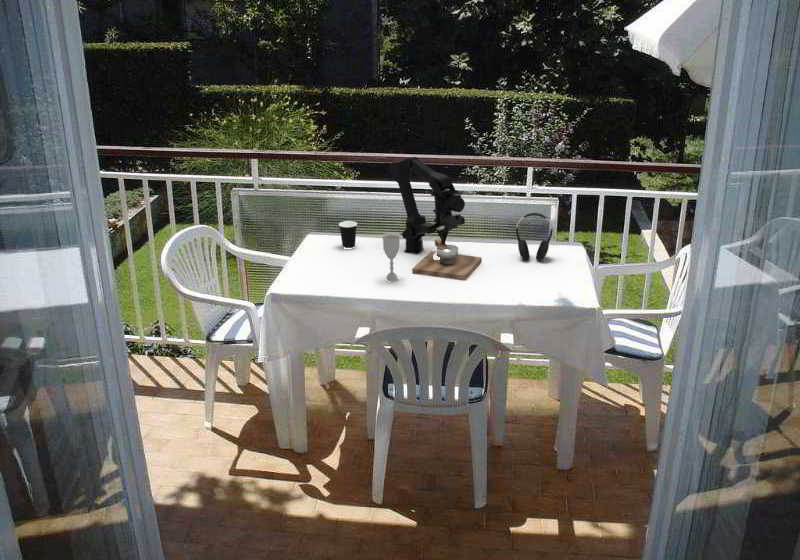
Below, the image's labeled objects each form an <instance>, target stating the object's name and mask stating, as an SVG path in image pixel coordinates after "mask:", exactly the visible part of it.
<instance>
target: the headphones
mask: <svg viewBox="0 0 800 560" xmlns="http://www.w3.org/2000/svg"><path fill="white" fill-rule="evenodd" d="M531 216H533V217H534V216H535V217H537V216H538V217H541V218H543V219H545V220H546V221H548V222H549V224H550V233H549V236H548V238H547V240H544V239H543V240H542V241H541V242H540V244H539V246H538V248H537V252H536V255H535V259H536V260H537V261H542V260H544V259H545V258H546V256H547V255H548V252H549V246H550V245H549V244H550V242H551V239H552V236H553V232H554V230H553V224H552V222H551V221H550V220H549V219H548V217H546V216H545V215H544V214H542V213H539V212H532V213H531V212H530V213H528V214H527V213H526V214H525V215H524V216H523V217H521V218H520V220H519V221H517V224H516V228H515V234H516V238H517V241H518V243H517V247H518V253H519V256H520V258H522V259H523V260H525V261H528V260H529V259H530V258H531V257H530V255H531V254H530V251H529V247H528V243H527V241H526V239H521V236H520V234H519V233H520V232H519V229H518V228H519V224H520V222H521V221H522V220H523V219H525V218H527V217H531Z"/></svg>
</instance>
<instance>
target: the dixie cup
mask: <svg viewBox="0 0 800 560" xmlns="http://www.w3.org/2000/svg"><path fill="white" fill-rule="evenodd" d="M357 225H358V223H357V222H356V221H353V220H352V221H351V220H347V221H341V222H339V223H338V226H339V231H340V236H341V237H340V238H341V244H342V247H345V248H353V247H354V248H355V247H356V237H357Z"/></svg>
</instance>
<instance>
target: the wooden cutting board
mask: <svg viewBox="0 0 800 560" xmlns="http://www.w3.org/2000/svg"><path fill="white" fill-rule="evenodd" d="M435 252H436V251H433V250H430V252H429V253H427V254H426V255H425V256H424V257H423V258H422V259H421V260H420V261H419V262H417V264H416V265H415V266H414V267H412V270H411V272H412V274H415V275H423V276H429V277H437V278H445V279H450V280H451V279H452V280H458V281H459V280H460V281H466V280H467V279H468V278H469V277H470V276H471V275H472V273H474V271H475V270H476V268H478V267H479V265H481V263H482V262H483V261H482V259H483V258H482V256H481V257H480V256H473V255H465V254H460V253H458V256H457V257H456V258H452V259H444V258H440V260H434V259H433V255H434V253H435Z"/></svg>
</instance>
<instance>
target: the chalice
mask: <svg viewBox="0 0 800 560" xmlns="http://www.w3.org/2000/svg"><path fill="white" fill-rule="evenodd" d="M381 237H382V244H383V245H382V246H383V247H382V248H383V251H384V254H385V255H386V257H387V259H389V260H390V261H389V265H390V266H389V269H390V271H389V273H387V275H386V278H385V279H387V280H388V281H396V280H398V281H399V278H398V275H397V273H395V272H394V269H395V267H394V264H395V263H394V259H396V257H397V255H398V252H399V250H400V238H401V234H400V233H397V232H386V233H383V234H381ZM388 281H387V282H388ZM396 282H397V281H396Z"/></svg>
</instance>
